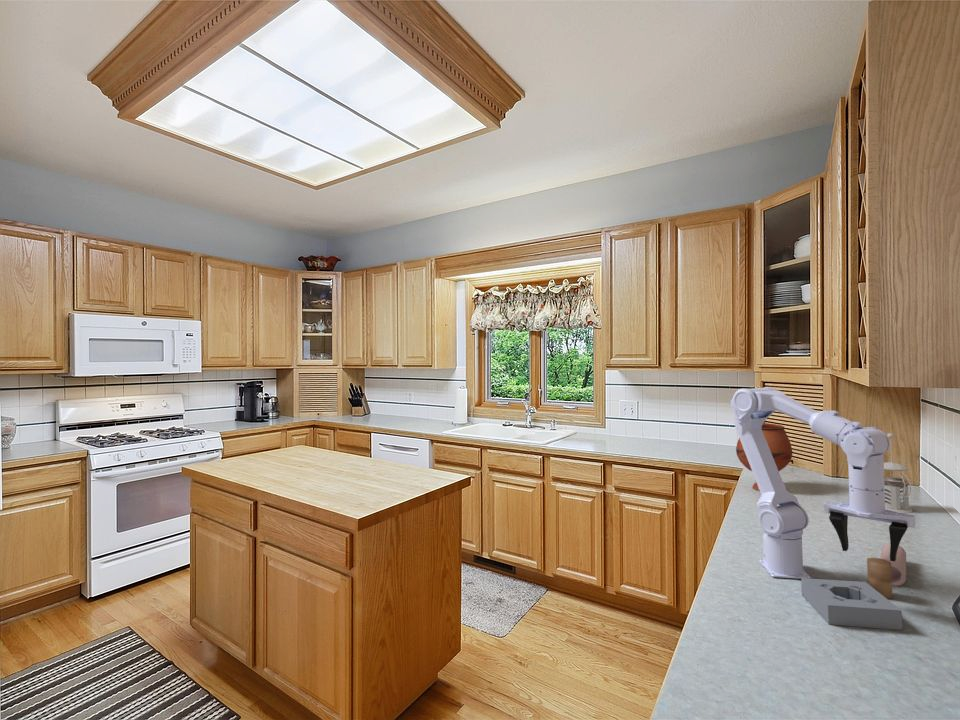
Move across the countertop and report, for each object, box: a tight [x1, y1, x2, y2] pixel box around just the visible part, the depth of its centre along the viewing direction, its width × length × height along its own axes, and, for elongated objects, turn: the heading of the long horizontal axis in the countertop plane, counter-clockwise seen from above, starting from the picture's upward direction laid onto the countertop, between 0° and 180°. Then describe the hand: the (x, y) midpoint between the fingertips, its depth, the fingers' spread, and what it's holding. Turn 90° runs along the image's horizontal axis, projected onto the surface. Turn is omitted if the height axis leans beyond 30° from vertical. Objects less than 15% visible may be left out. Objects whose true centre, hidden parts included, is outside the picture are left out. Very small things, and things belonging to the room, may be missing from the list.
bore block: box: [800, 578, 903, 631], centre depth 97 cm, size 12×12×4 cm
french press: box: [884, 432, 913, 514], centre depth 161 cm, size 10×12×25 cm
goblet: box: [735, 422, 793, 492], centre depth 190 cm, size 19×19×25 cm
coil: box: [879, 542, 907, 587], centre depth 114 cm, size 5×5×18 cm
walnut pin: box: [866, 557, 893, 600], centre depth 104 cm, size 4×4×7 cm
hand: (868, 554), depth 99 cm, fingers open, 7 cm apart
